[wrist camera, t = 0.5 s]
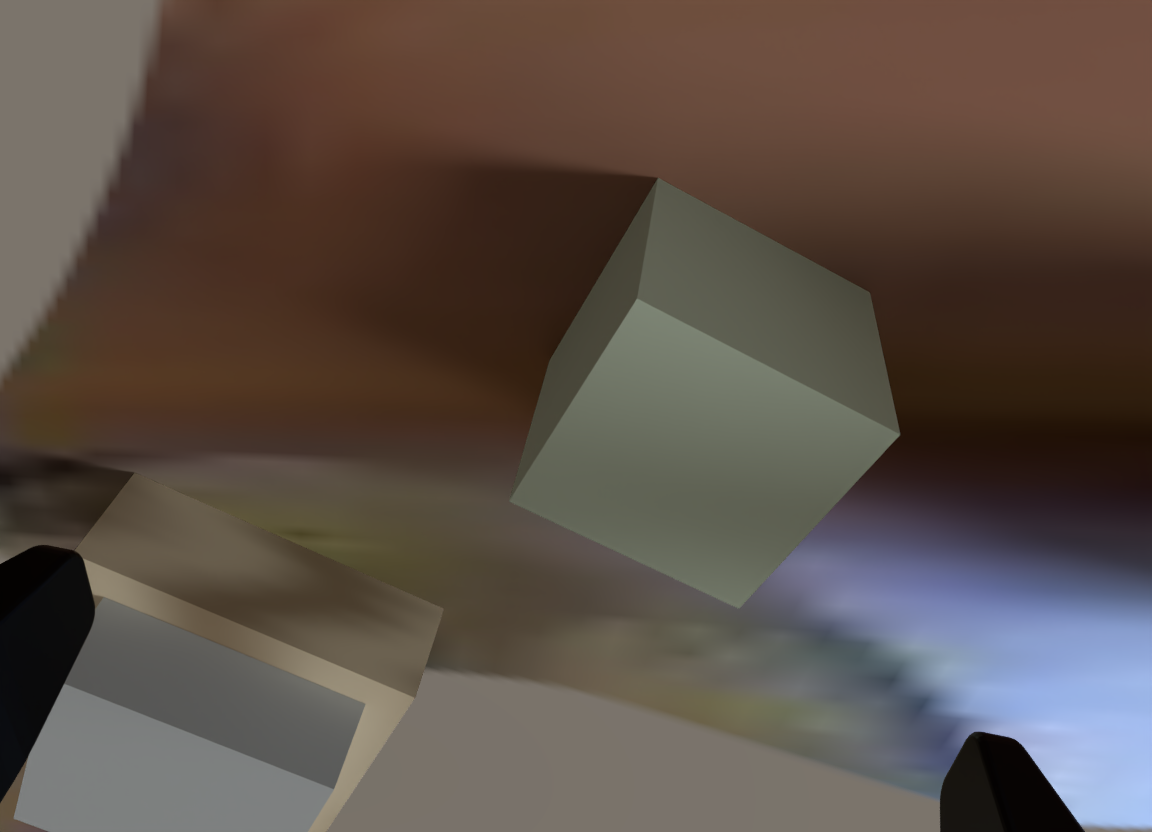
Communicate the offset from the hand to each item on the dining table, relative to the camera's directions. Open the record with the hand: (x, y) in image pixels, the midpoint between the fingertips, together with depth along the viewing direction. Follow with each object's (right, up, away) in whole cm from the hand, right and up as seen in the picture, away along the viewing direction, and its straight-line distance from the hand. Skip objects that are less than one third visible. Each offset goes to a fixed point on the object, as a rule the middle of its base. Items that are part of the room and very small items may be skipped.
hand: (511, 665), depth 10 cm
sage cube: (+3, +4, +12) cm, 13 cm away
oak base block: (-9, -4, +20) cm, 22 cm away
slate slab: (-9, -6, +17) cm, 21 cm away
